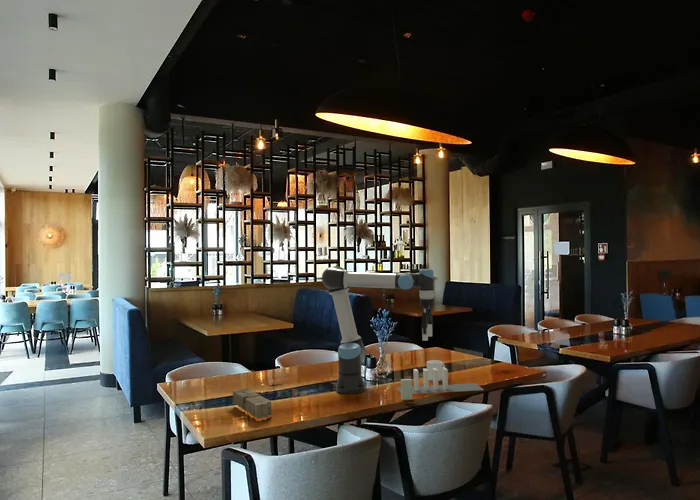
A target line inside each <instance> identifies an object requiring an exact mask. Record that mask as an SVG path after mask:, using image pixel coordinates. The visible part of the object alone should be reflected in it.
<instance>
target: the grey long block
mask: <svg viewBox="0 0 700 500" xmlns="http://www.w3.org/2000/svg"><path fill="white" fill-rule="evenodd" d="M232 397H233V404H234V403H235V404H236V405H238V406H239V407H241V408H242V409H244V410H245V411H247V412H249V413H250V414H251V415H253V416H254V417H256V418H262V417H268V415H272V401H271V400H270V399H268V398H266V397H264V396H262V395H260V394H259V393H256V392H255V391H253V390H251V389H249V388H248V387H245V388H241V389H236V390H235V389H233V390H232ZM272 416H273V415H272Z"/></svg>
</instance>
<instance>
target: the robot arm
mask: <svg viewBox="0 0 700 500" xmlns="http://www.w3.org/2000/svg"><path fill="white" fill-rule="evenodd" d="M321 281H322V284H323V285H324V286H325V288H327V291H328V294H329V295H331V297H332V300H333V304H334V309H335V313H336V317H337V322H338V325H339V326H338V327H339V330H340V334H341V341H340V345H339V346H338V350H337V357H338V358H337V360H338V361H337V362H338V377H337V381H336V385H335V391H336V392H337V393H339V392H340V394H345V393H348V394H349V395H351V394H359V393H363V392H364V391H366V385H365V382H364V379H363V376H362V361H363V360H364V359H365V358H366V354H367V349H366V347H365V345H364V343H363V340H362V336H360V335H358V332H357V331H358V330H357V326H356V322H355V318H354V314H353V310H352V305H351V301H350V297H349V290H350V287H352V288H353V287H355V288H375V289H376V288H377V289H379V288H380V289H399V290H401V289H402V290H405V291H407V290H410V289H412V288H419V305H420V306H421V307H423V308H422V312H421V313H422V314H421V325H420V328H421V332H422V333H421V335H422V336H421V337H422V340H421V341H422V342H423V341H426V342H427V341H428V340H429V337H433V325H434V321H433V320H434V319H433V310H432V309H433V308H432V307H434V305H435V299H434V297H435V294H436V292H435V284H434V283H435V278H434V270H433V269H431V268H422V269H421V268H420V269H419V272H415V273H414V272H408V273H407V272H400V273H399V272H398V273H386V272H385V273H383V272H382V273H380V272H362V271H361V272H358V271H357V272H356V271H348V270H347V269H345V268H343V267H342V266H339V265H337V266H330V267H328V268H327V267H326V268H325V270H324V271H323V272H322V274H321Z"/></svg>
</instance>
